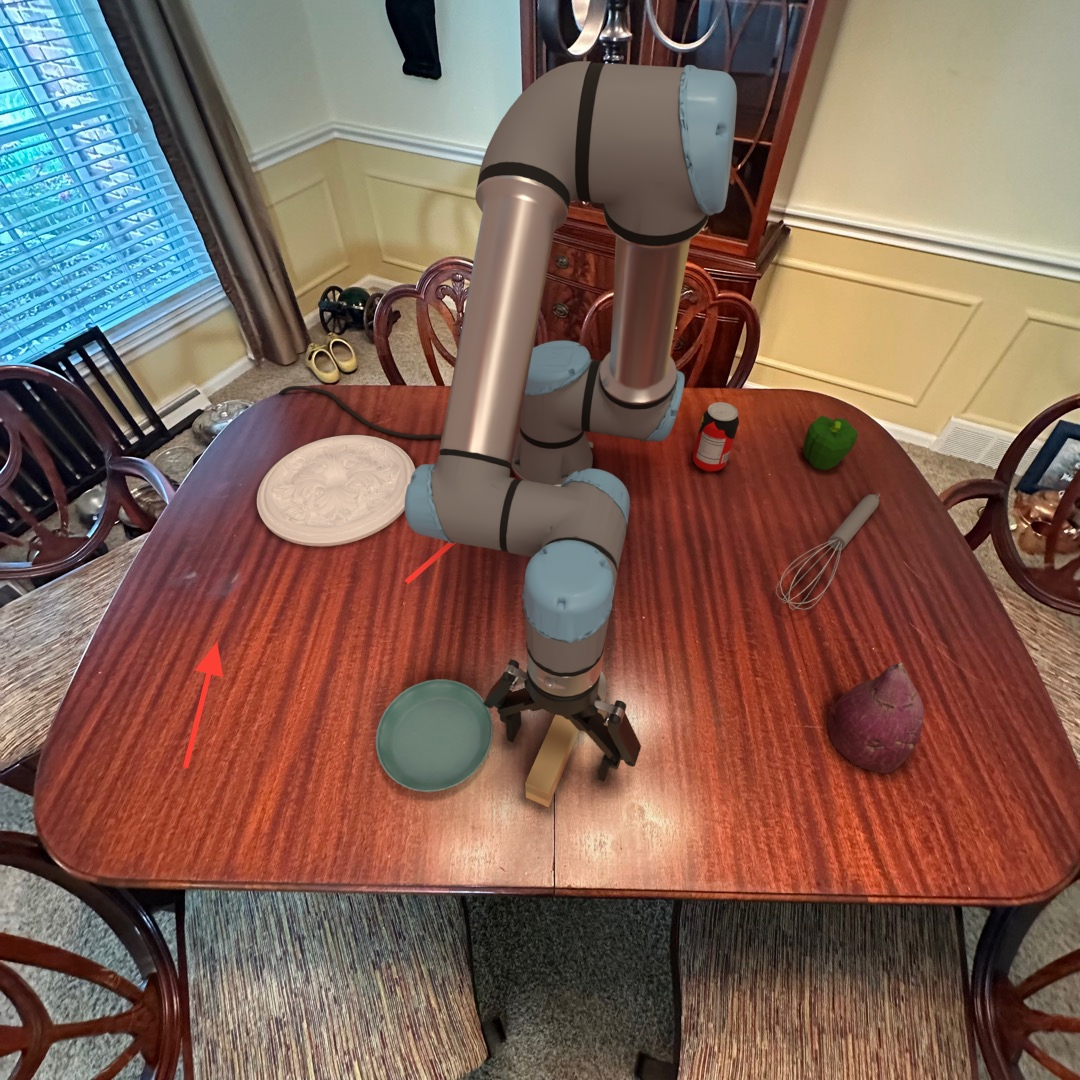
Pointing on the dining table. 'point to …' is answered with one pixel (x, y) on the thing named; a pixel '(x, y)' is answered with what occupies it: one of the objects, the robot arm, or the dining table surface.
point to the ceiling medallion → (335, 490)
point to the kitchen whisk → (838, 541)
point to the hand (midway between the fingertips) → (558, 751)
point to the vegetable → (878, 721)
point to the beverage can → (715, 436)
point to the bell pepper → (828, 442)
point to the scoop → (554, 755)
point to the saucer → (434, 735)
